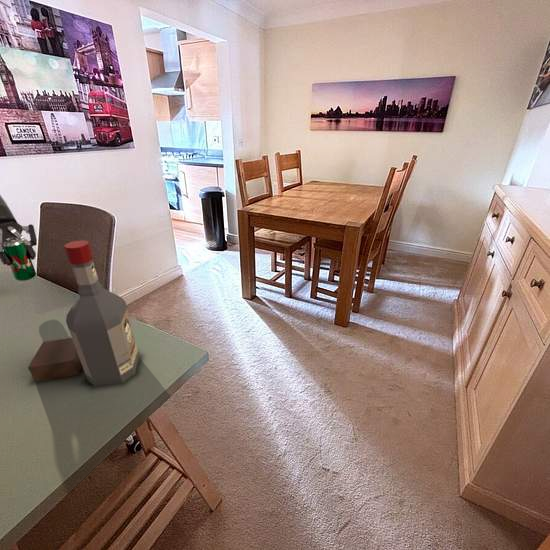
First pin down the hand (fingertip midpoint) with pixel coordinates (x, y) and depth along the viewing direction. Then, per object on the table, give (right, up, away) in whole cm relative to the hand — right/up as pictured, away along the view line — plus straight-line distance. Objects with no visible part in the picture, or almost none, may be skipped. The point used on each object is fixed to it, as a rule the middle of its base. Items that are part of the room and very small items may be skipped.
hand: (21, 261), depth 86 cm
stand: (+26, -25, -19) cm, 41 cm away
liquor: (+38, -25, -20) cm, 49 cm away
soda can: (-2, -5, +4) cm, 6 cm away
